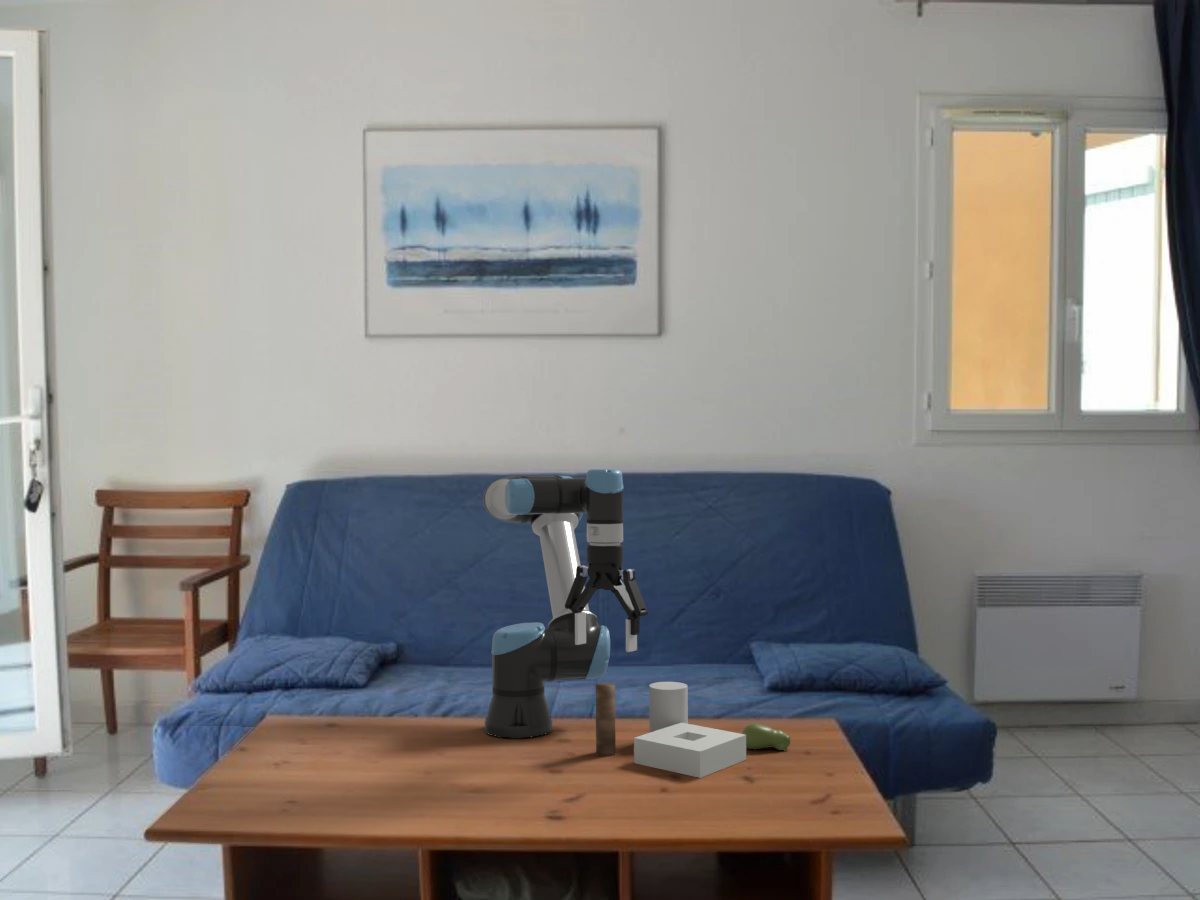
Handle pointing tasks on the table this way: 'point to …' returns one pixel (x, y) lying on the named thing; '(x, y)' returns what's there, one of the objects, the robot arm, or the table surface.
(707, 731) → the socket block
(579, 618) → the robot arm
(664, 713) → the grey cylinder peg
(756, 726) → the pear
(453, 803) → the table surface
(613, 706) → the walnut dowel
